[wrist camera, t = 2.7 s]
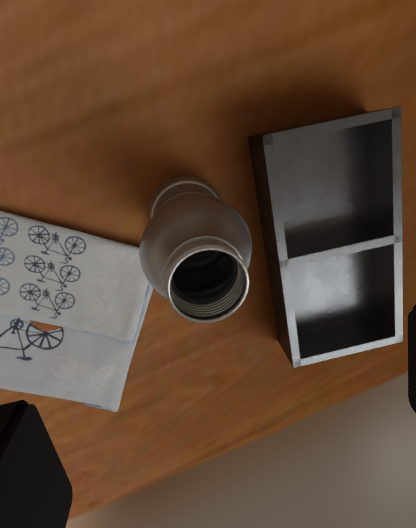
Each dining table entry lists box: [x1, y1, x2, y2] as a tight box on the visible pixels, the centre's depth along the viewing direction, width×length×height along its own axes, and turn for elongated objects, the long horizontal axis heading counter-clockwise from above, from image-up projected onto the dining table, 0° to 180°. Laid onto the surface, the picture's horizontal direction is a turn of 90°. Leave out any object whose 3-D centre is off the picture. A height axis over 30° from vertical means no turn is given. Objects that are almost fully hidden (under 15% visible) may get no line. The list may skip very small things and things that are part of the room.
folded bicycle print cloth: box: [0, 211, 153, 412], centre depth 36 cm, size 19×20×2 cm
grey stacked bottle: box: [139, 175, 252, 323], centre depth 25 cm, size 6×7×20 cm
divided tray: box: [248, 106, 403, 368], centre depth 34 cm, size 22×12×5 cm, turn 11°
